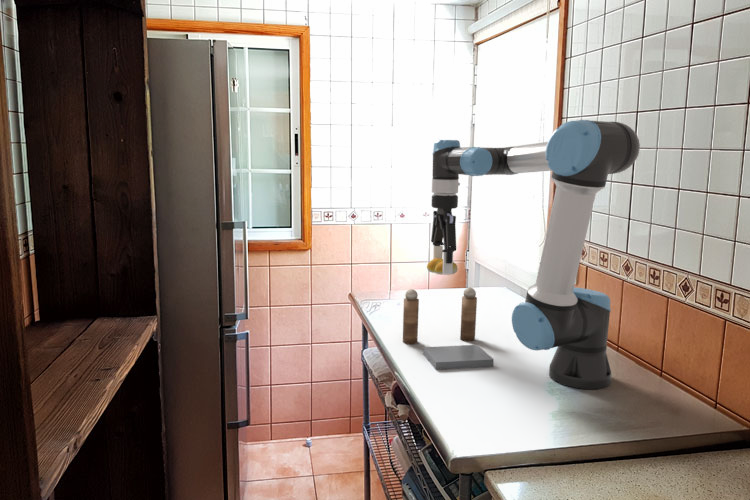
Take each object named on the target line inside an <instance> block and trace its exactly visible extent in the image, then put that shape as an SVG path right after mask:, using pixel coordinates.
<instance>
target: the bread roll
mask: <svg viewBox="0 0 750 500" xmlns="http://www.w3.org/2000/svg"><path fill="white" fill-rule="evenodd" d="M426 268H427V270H428V272H429V273H433V274H435V275H443V258H442V259H441V258H435V259H433V258H432V259H431V260H430V261H428V263H427V264H426ZM457 272H458V265H457V263H456V262H454V261H453V271H452V274H444V275H443V276H445V275H446V276H447V275H448V276H450V275H454V274H456V273H457Z"/></svg>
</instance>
